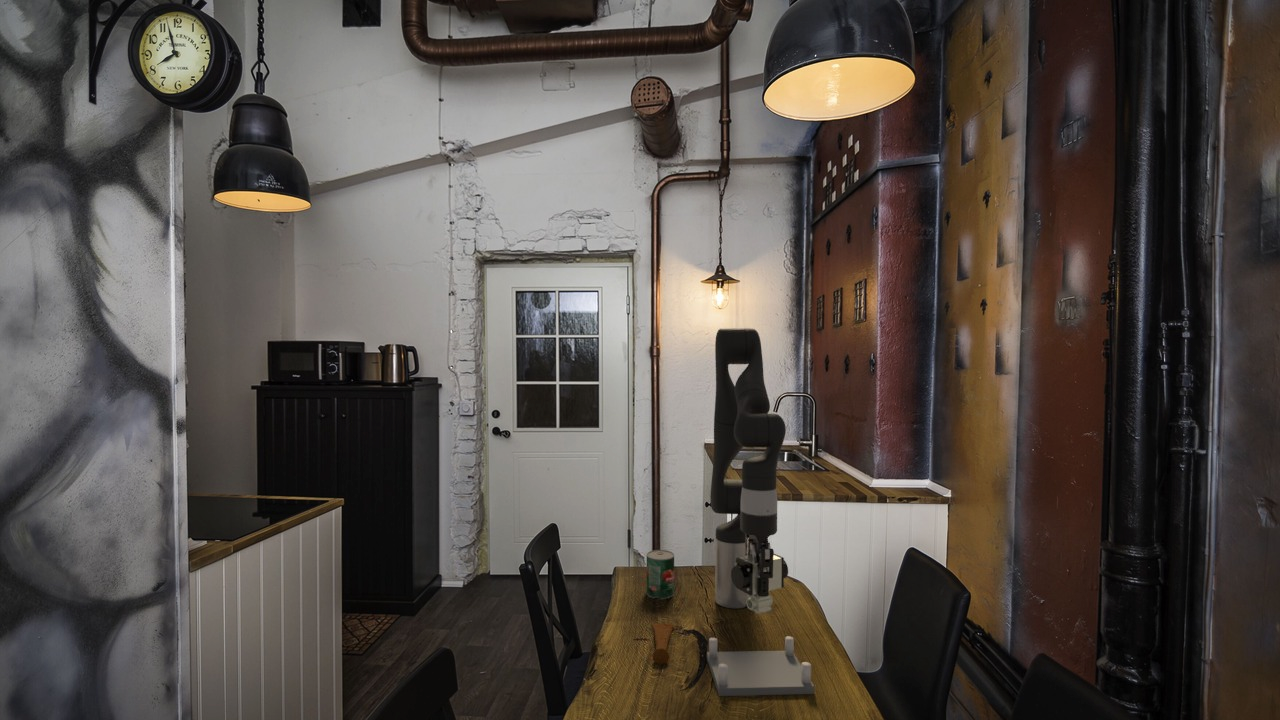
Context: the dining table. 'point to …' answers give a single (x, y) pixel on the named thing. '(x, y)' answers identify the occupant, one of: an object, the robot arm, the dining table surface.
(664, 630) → the primitive tool
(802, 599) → the dining table surface
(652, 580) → the canned tomato
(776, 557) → the pneumatic valve
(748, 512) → the robot arm
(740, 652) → the peg board
